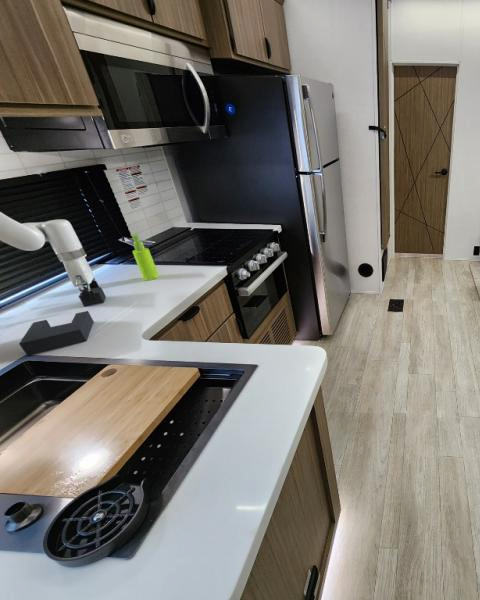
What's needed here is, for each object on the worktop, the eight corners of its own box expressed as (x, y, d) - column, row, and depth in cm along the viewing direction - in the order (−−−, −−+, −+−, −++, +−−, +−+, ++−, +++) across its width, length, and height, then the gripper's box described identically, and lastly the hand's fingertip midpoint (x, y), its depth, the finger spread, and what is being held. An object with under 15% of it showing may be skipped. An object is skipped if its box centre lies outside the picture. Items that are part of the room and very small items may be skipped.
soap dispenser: (157, 273, 154) (140, 231, 145) (160, 277, 150) (144, 234, 141) (142, 277, 151) (124, 234, 141) (145, 281, 146) (127, 237, 137)
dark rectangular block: (27, 355, 100) (18, 343, 98) (40, 333, 110) (33, 322, 108) (86, 341, 106) (80, 329, 104) (93, 321, 117) (88, 310, 115)
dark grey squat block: (84, 306, 126) (78, 296, 124) (86, 300, 131) (81, 290, 129) (103, 302, 129) (98, 292, 127) (105, 296, 134) (101, 286, 132)
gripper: (63, 249, 126) (85, 289, 134) (51, 264, 113) (76, 307, 121) (88, 245, 129) (108, 285, 137) (80, 259, 116) (102, 301, 124)
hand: (93, 295), depth 129 cm, fingers open, 9 cm apart
